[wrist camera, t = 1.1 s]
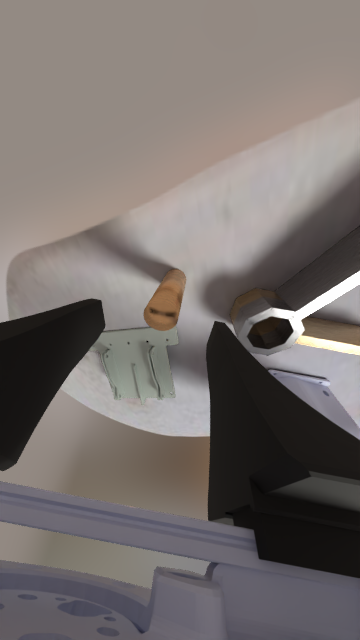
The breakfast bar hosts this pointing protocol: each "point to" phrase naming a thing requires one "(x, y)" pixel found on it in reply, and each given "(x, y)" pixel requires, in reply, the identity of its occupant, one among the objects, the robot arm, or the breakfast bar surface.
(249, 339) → the hinge
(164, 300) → the hinge pin
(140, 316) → the breakfast bar surface
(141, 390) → the metal bracket
